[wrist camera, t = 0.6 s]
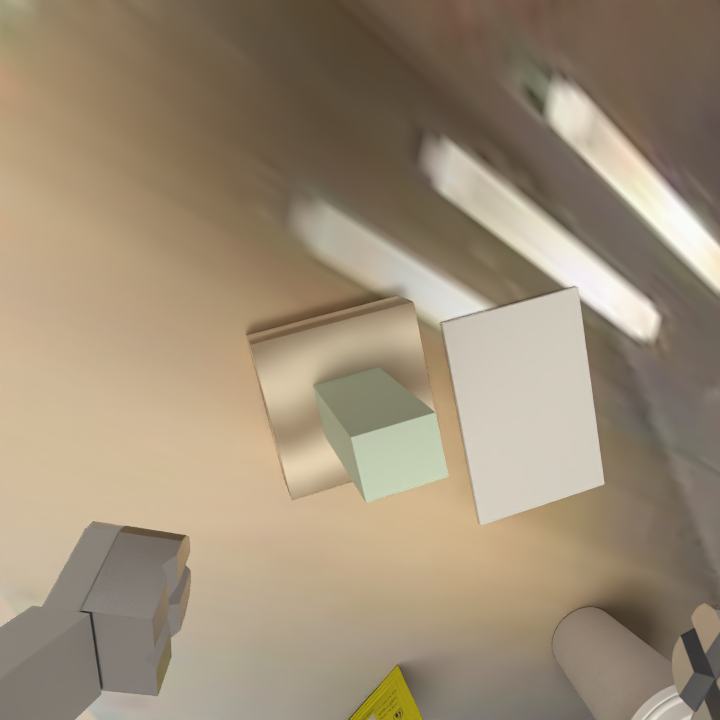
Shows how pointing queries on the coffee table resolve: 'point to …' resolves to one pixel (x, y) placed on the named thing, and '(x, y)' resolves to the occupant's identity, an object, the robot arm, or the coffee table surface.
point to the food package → (390, 701)
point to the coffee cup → (616, 669)
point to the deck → (325, 363)
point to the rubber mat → (524, 403)
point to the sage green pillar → (380, 433)
